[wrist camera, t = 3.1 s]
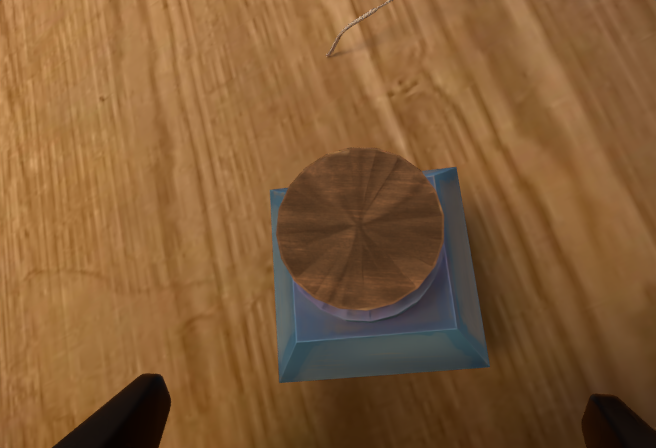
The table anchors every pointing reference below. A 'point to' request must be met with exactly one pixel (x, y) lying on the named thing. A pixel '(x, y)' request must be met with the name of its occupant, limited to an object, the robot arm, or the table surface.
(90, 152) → the table surface
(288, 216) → the perfume bottle
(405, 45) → the table surface
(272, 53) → the table surface
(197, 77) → the table surface
